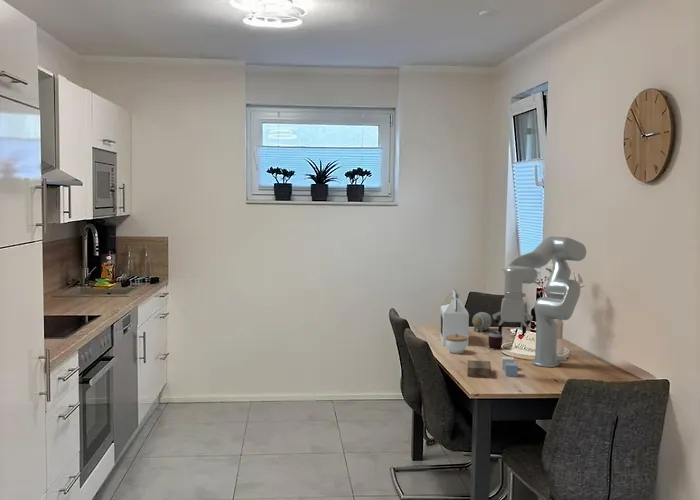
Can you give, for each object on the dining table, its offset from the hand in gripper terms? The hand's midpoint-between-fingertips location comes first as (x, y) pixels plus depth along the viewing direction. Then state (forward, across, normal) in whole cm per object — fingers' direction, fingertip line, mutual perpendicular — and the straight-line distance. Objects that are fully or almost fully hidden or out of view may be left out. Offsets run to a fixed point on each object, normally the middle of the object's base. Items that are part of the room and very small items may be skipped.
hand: (512, 334), depth 289 cm
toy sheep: (+18, +11, -94) cm, 97 cm away
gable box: (+18, +27, -63) cm, 71 cm away
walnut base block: (+18, +14, 0) cm, 23 cm away
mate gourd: (+18, +5, -51) cm, 54 cm away
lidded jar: (+18, +25, -38) cm, 49 cm away
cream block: (+18, +1, -11) cm, 21 cm away
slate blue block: (+18, 0, 0) cm, 18 cm away
